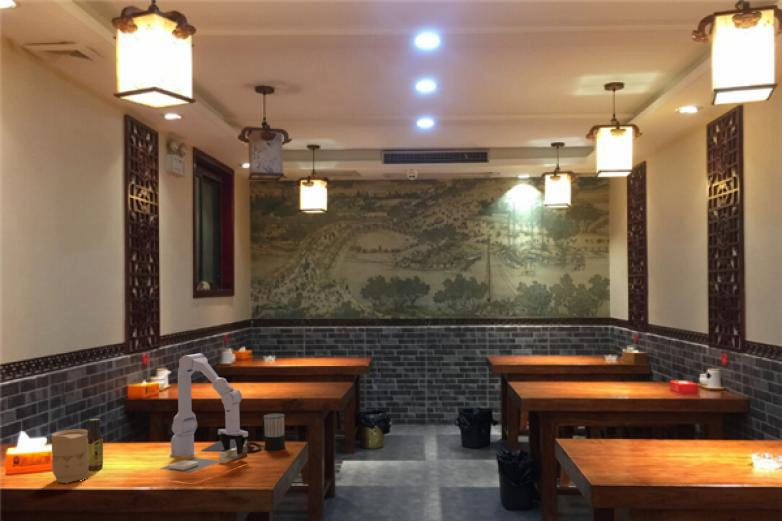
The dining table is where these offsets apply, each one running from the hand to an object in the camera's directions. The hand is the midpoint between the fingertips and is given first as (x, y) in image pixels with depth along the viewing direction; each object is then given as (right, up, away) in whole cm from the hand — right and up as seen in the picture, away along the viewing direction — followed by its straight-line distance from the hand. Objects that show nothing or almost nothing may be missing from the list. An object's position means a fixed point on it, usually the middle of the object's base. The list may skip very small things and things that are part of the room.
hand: (233, 453), depth 288 cm
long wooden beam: (0, -3, 0) cm, 3 cm away
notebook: (-9, -5, +24) cm, 27 cm away
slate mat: (-15, -3, -8) cm, 17 cm away
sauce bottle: (-55, -5, -6) cm, 56 cm away
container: (-58, -5, -21) cm, 62 cm away
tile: (-15, -2, -8) cm, 17 cm away
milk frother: (+11, -3, +15) cm, 19 cm away
